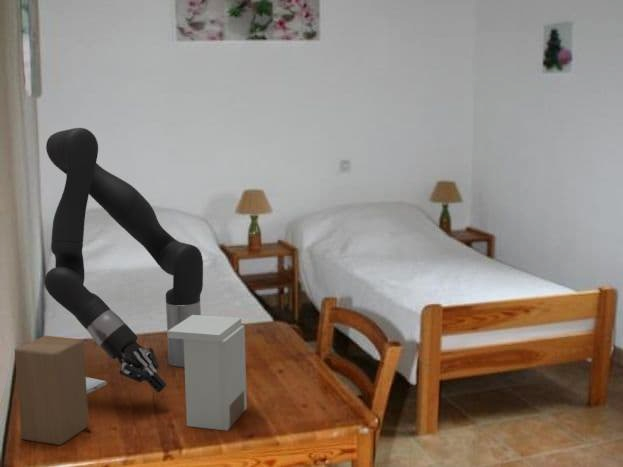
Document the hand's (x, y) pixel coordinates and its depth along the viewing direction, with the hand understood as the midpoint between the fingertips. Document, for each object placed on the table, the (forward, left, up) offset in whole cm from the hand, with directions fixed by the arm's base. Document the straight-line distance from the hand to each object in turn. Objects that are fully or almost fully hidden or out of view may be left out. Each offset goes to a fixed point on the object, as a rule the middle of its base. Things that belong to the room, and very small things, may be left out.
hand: (162, 389), depth 163 cm
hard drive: (-9, -29, -6) cm, 31 cm away
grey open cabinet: (0, +13, -5) cm, 14 cm away
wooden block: (+16, -17, -6) cm, 24 cm away
